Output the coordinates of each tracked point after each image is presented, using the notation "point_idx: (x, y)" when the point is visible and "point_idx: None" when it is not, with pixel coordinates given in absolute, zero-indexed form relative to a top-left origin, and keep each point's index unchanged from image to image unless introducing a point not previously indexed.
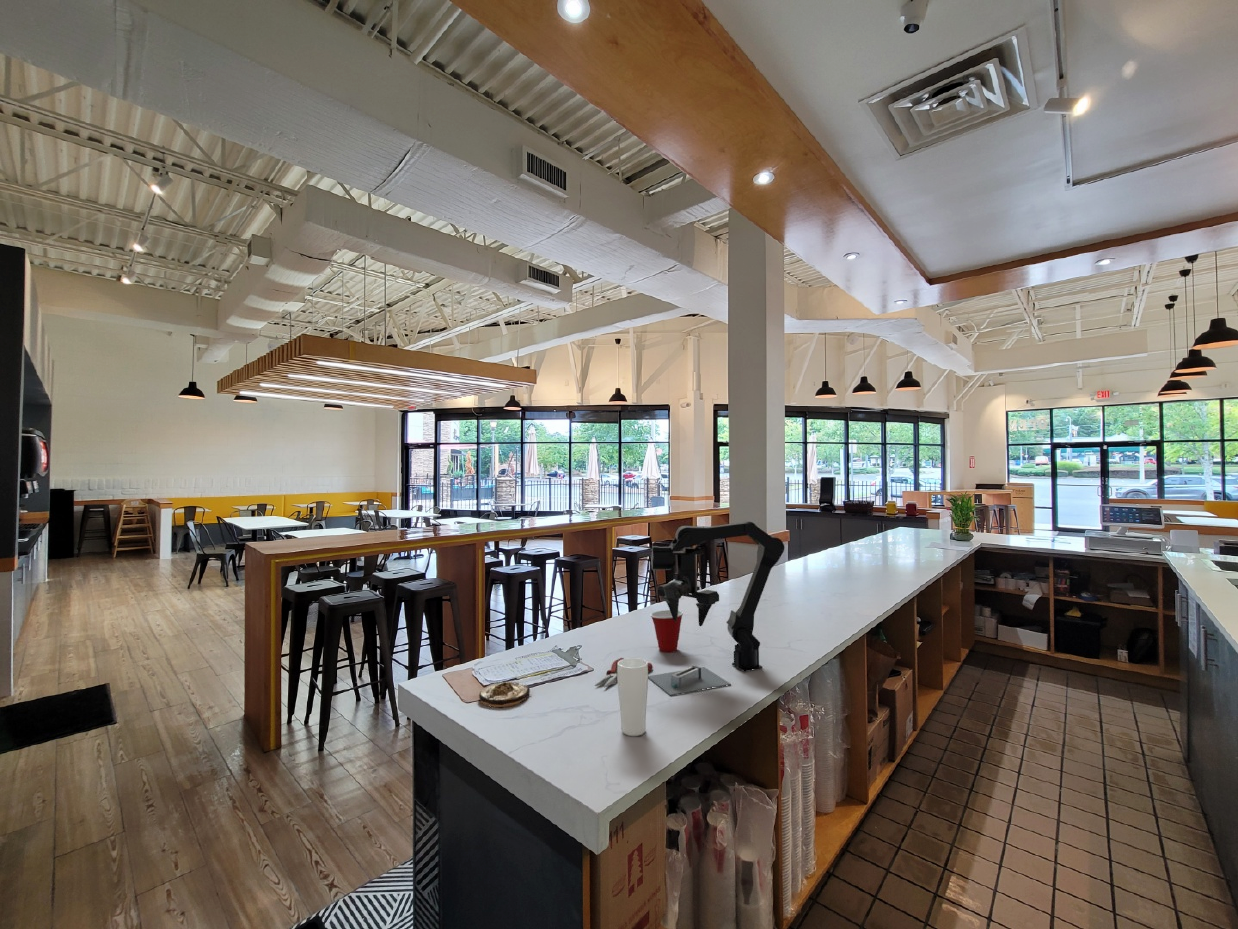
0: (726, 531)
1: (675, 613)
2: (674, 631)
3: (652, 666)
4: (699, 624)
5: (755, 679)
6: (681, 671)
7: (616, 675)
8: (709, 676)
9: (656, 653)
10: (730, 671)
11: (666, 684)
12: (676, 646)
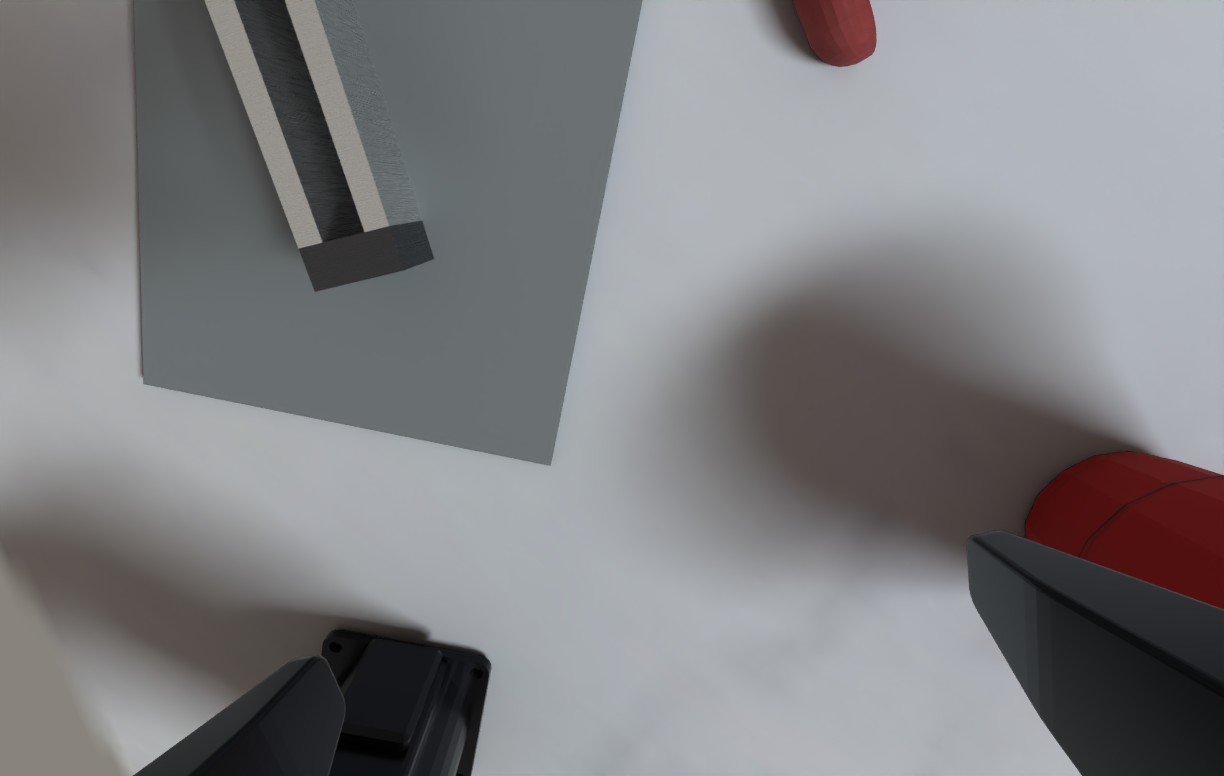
0: None
1: (1082, 691)
2: None
3: (825, 54)
4: (285, 676)
5: (184, 590)
6: (312, 38)
7: None
8: (351, 357)
9: (1117, 383)
10: (395, 568)
11: None
12: None
